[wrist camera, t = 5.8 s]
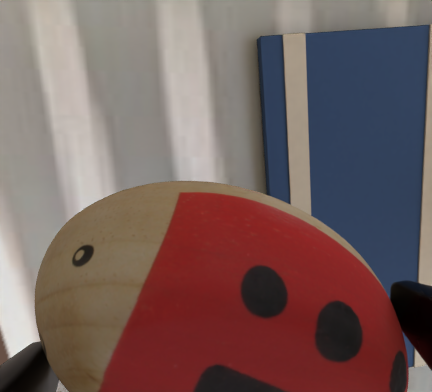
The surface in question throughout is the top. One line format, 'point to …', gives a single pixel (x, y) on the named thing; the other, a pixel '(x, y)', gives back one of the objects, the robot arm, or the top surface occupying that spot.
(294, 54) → the towel
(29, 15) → the top surface
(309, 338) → the ladybug figurine
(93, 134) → the top surface
